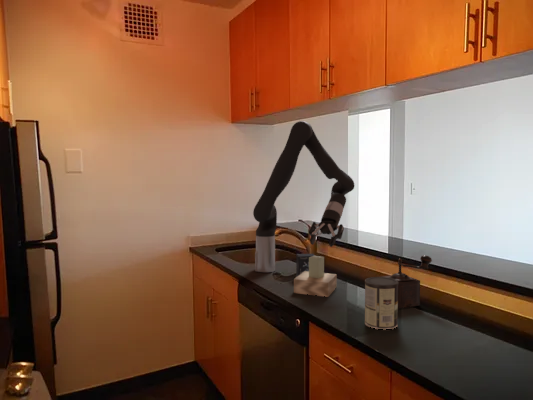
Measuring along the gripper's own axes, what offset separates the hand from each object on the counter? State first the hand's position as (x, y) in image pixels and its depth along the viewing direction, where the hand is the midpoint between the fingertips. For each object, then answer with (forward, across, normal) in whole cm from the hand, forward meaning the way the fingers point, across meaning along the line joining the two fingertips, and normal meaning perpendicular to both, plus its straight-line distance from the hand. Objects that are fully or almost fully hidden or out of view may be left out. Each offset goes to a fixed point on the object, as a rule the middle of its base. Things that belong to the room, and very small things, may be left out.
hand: (320, 244), depth 172 cm
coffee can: (+32, +34, -6) cm, 47 cm away
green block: (+12, 0, +6) cm, 13 cm away
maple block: (+16, 0, +10) cm, 19 cm away
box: (+6, -12, +21) cm, 25 cm away
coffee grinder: (+14, +35, +12) cm, 40 cm away
